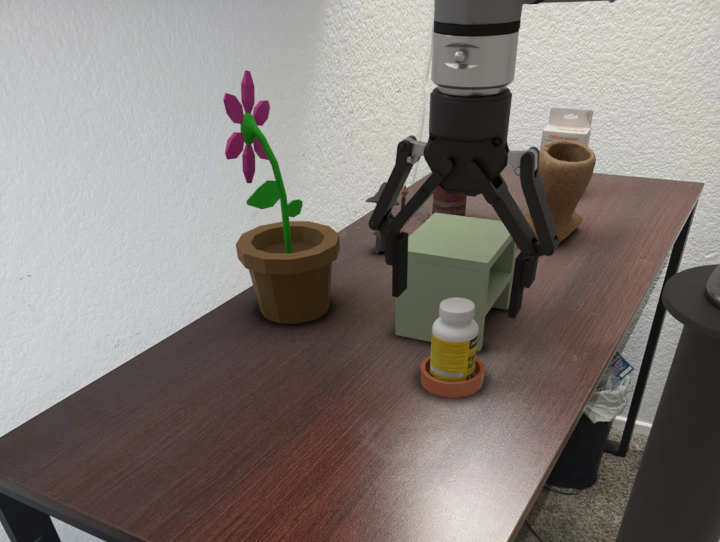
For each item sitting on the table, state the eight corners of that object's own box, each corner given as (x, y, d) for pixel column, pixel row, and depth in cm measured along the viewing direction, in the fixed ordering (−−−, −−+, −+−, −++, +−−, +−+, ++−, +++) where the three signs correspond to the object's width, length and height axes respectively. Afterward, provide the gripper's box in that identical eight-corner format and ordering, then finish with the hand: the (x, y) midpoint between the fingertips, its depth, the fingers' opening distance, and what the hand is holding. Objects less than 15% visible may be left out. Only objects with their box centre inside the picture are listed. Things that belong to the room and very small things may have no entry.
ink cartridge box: (532, 194, 132) (543, 112, 122) (538, 186, 135) (549, 106, 126) (576, 198, 129) (590, 115, 119) (580, 191, 132) (595, 108, 123)
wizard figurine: (361, 254, 112) (358, 180, 104) (377, 243, 115) (375, 170, 107) (404, 263, 108) (405, 187, 101) (419, 251, 112) (421, 176, 104)
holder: (490, 372, 82) (492, 358, 81) (471, 403, 77) (472, 389, 76) (433, 360, 85) (434, 346, 84) (411, 390, 80) (411, 375, 79)
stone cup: (563, 257, 108) (580, 159, 98) (498, 242, 114) (508, 148, 104) (598, 228, 117) (617, 136, 107) (537, 216, 123) (549, 127, 113)
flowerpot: (273, 282, 105) (245, 61, 85) (357, 293, 100) (348, 64, 81) (228, 322, 95) (185, 83, 75) (320, 337, 90) (299, 87, 71)
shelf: (509, 306, 96) (519, 223, 88) (479, 351, 86) (488, 263, 78) (431, 293, 100) (434, 212, 92) (395, 335, 90) (395, 249, 82)
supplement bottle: (472, 392, 78) (479, 317, 72) (427, 389, 79) (430, 314, 73) (475, 368, 82) (482, 295, 76) (431, 365, 83) (435, 293, 77)
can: (470, 216, 124) (476, 135, 114) (457, 228, 119) (463, 144, 110) (440, 212, 126) (443, 131, 117) (427, 223, 122) (429, 141, 112)
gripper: (332, 86, 62) (341, 297, 76) (603, 105, 54) (558, 338, 67) (365, 72, 67) (369, 272, 81) (618, 87, 59) (573, 307, 72)
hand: (455, 302), depth 74 cm, fingers open, 13 cm apart
